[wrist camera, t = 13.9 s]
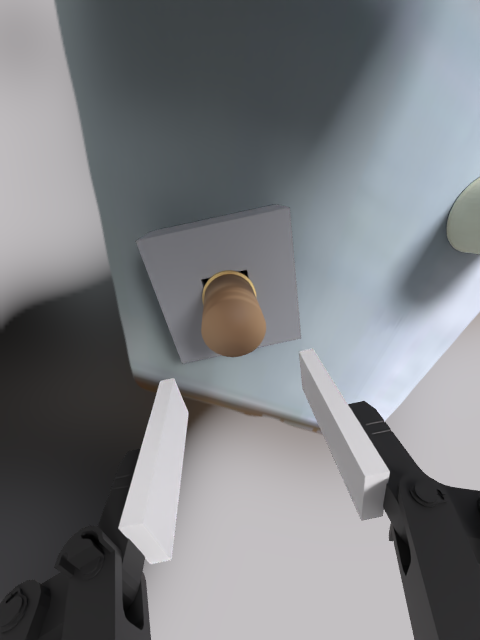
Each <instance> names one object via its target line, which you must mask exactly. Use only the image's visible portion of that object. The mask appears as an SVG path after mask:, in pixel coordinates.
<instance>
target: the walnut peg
mask: <svg viewBox="0 0 480 640" xmlns="http://www.w3.org/2000/svg"><path fill="white" fill-rule="evenodd" d="M202 301H203V316H202V327H201V333H202V337H203V340H204V342H205V344H206V345H207V346H208V347H209V348H210V349H211V350H212V351H214V352H215V353H217V354H220V355H223V356H227V357H238V356H242V355H246V354H248V353H250V352H252V351H253V350H255V349H256V348H257V347H258V346H259V345H260V344H261V342H262V341H263V339H264V336H265V333H266V322H265V319H264V316H263V313H262V311H261V308H260V306H259V303H258V301H257V298H256V291H255V288H254V285H253V283H252V282H251V280H250V279H249V278H248V277H247V276H246V275H244V274H242V273H240V272H238V271H233V270H226V271H221V272H218V273H216V274H215V275H213V276H212V277H211V278H210V279H209V280H208V281H207V282H206V284H205V286H204V289H203V294H202Z"/></svg>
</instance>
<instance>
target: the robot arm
mask: <svg viewBox="0 0 480 640" xmlns="http://www.w3.org/2000/svg"><path fill="white" fill-rule="evenodd" d="M299 357H300V367H301V378H302V388H303V391H304V393H305V395H306V398H307V400H308V402H309V404H310V407H311V409H312V411H313V413H314V416H315V418H316V420H317V422H318V425H319V427H320V429H321V431H322V433H323V436H324V438H325V440H326V442H327V445H328V447H329V449H330V451H331V454H332V456H333V458H334V460H335V463H336V465H337V467H338V469H339V471H340V474H341V476H342V478H343V480H344V483H345V485H346V487H347V490H348V491H349V494H350V496H351V499H352V501H353V503H354V505H355V507H356V510H357V512H358V514H359V516H360V519H361V520H367V519H372V518H376V517H381V516H383V510H385V512H386V513H387V515H388V517H389V519H390V521H391V525H390V530H389V541H394V546H395V550H396V555H397V559H398V564H399V569H400V574H401V579H402V583H403V588H404V592H405V597H406V602H407V607H408V611H409V616H410V620H411V625H412V630H413V635H414V640H480V491H476V490H469V489H461V488H455V487H450V486H446V485H443V484H441V483H439V482H437V481H435V480H434V479H432V478H430V477H429V476H427V475H426V474H425V473H424V472H423V471H422V470H421V469H420V468H419V467H418V466H417V464H416V463H415V462H414V460H413V459H412V458H411V456H410V455H409V453H408V452H407V451H406V449H405V448H404V447H403V446H402V444H401V443H400V441H399V440H398V439H397V437H396V436H395V435H394V433H393V432H392V431H391V430H390V428H389V426H388V425H387V424H386V422H384V420H383V418H382V417H381V416H380V414H379V413H378V412H377V410H376V409H375V408H373V407H372V406H371V405H369V404H368V403H366V402H365V401H362V402H357V403H352V404H347V402H346V401H345V399H344V397H343V396H342V394H341V393H340V391H339V389H338V388H337V386H336V385H335V383H334V381H333V380H332V378H331V377H330V375H329V373H328V372H327V370H326V369H325V367H324V365H323V364H322V362H321V361H320V359H319V357H318V356H317V354H316V353H315V351H314V349H313V348H312V349H308V350H303V351H299ZM187 422H188V410H187V408H186V406H185V403H184V401H183V399H182V396H181V394H180V391H179V389H178V386H177V384H176V382H175V379H174V378H172V379H167V380H162V381H160V383H159V387H158V390H157V394H156V397H155V401H154V404H153V408H152V412H151V415H150V419H149V422H148V426H147V429H146V433H145V436H144V440H143V443H142V447H141V449H137V450H133V451H129V452H128V453H127V454H126V455H125V457H124V458H123V460H122V461H121V463H120V464H119V467H118V470H117V473H116V476H115V480H114V481H113V485H112V488H111V491H110V493H109V497H108V499H107V502H106V505H105V507H104V510H103V513H102V516H101V519H100V522H99V525H98V526H88V527H85V528H82V529H81V530H79V531H78V532H77V533H75V534H74V535H73V536H72V537H71V538H70V539H69V540H68V541H67V543H66V544H65V545H64V547H63V548H62V550H61V552H60V553H59V555H58V558H57V561H56V564H55V568H56V569H57V570H59V571H60V573H59V574H57V575H55V576H54V577H52V578H50V579H49V580H47V581H45V582H44V583H42V584H40V583H39V582H37V581H36V580H27V581H25V582H23V583H21V584H20V585H18V586H17V587H15V588H14V589H13V590H12V591H11V592H10V593H9V594H8V595H7V596H6V597H5V598H4V599H3V601H2V602H1V603H0V640H151V635H150V623H149V611H148V599H147V588H146V580H145V576H144V573H143V572H142V571H143V565H144V560H145V558H146V560H147V561H148V562H149V563H150V564H154V563H159V562H164V561H169V560H172V551H173V543H174V533H175V525H176V517H177V508H178V499H179V490H180V482H181V473H182V465H183V456H184V448H185V439H186V430H187Z"/></svg>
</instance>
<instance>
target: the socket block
mask: <svg viewBox="0 0 480 640" xmlns="http://www.w3.org/2000/svg"><path fill="white" fill-rule="evenodd" d="M136 244H137V247H138V249H139V252H140V254H141V257H142V260H143V262H144V265H145V268H146V270H147V273H148V275H149V278H150V281H151V283H152V286H153V288H154V291H155V294H156V296H157V299H158V302H159V304H160V307H161V309H162V312H163V315H164V317H165V320H166V322H167V325H168V328H169V330H170V333H171V335H172V338H173V341H174V343H175V346H176V349H177V351H178V354H179V356H180V359H181V362H182V364H184V363H189V362H193V361H198V360H203V359H207V358H212V357H217V356H222V355H220V354H217V353H215V352H214V351H212V350H211V349H210V348H209V347H208V346H207V345H206V344H205V342H204V340H203V337H202V333H201V327H202V316H203V301H202V294H203V289H204V286H205V284H206V282H207V281H208V279H207V278H210V277H212V276H213V275H215V274H216V273H218V272H221V271H226V270H233V271H243V270H244V273H245V275H246V276H247V277H248V278H249V279H250V280H251V282H252V283H253V285H254V288H255V291H256V298H257V301H258V303H259V306H260V308H261V311H262V313H263V316H264V319H265V322H266V333H265V336H264V339H263V341H262V342H261V344H260V345H259V346H258V347H257V348H259V347H264V346H268V345H273V344H278V343H282V342H287V341H292V340H296V339H301V330H300V319H299V308H298V296H297V285H296V273H295V262H294V251H293V239H292V228H291V216H290V207H286V206H281V205H276V204H274V205H269V206H264V207H260V208H255V209H251V210H246V211H242V212H237V213H232V214H228V215H223V216H219V217H214V218H209V219H205V220H200V221H196V222H191V223H186V224H182V225H177V226H173V227H168V228H164V229H159V230H154V231H150V232H149V233H147V234H146V235H144V236H142V237H141V238H139V239H138V240H136Z"/></svg>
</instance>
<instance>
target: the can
mask: <svg viewBox="0 0 480 640" xmlns="http://www.w3.org/2000/svg"><path fill="white" fill-rule="evenodd" d="M446 230H447V238H448V240H449V242H450V244H451V245H452V247H454V248H455V249H456V250H458V251H460V252H464V253H474V254H479V255H480V177H479V178H478V179H476V180H475V181H473V182H472V183H471V184H470V185H469V186H468V187H467V188H466V189H465V190H464V191H463V192H462V193H461V195H460V196H459V197H458V199H457V200H456V202H455V203H454V205H453V207H452V209H451V211H450V214H449V217H448V221H447V229H446Z"/></svg>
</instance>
